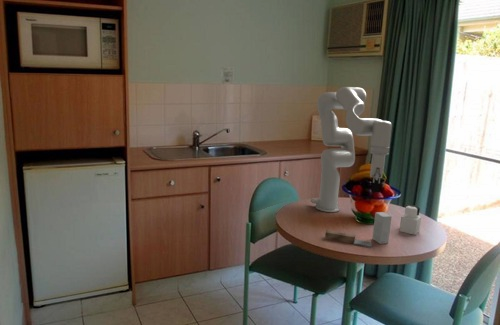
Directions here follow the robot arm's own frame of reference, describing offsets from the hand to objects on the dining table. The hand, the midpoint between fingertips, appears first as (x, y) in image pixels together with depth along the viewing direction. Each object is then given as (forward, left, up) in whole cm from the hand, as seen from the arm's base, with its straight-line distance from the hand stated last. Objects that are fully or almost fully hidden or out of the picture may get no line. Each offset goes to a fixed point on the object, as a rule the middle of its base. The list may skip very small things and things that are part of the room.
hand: (375, 189), depth 182 cm
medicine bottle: (+16, +14, -21) cm, 30 cm away
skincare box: (+4, -5, -21) cm, 22 cm away
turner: (-8, -12, -21) cm, 26 cm away
